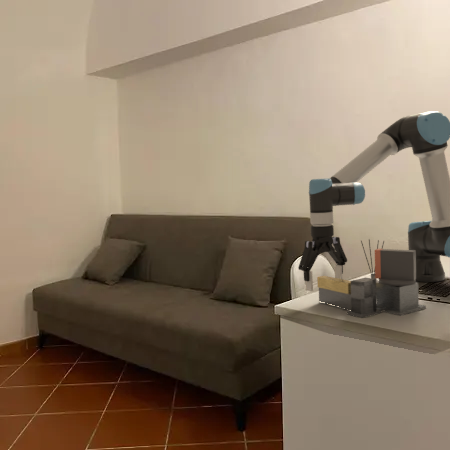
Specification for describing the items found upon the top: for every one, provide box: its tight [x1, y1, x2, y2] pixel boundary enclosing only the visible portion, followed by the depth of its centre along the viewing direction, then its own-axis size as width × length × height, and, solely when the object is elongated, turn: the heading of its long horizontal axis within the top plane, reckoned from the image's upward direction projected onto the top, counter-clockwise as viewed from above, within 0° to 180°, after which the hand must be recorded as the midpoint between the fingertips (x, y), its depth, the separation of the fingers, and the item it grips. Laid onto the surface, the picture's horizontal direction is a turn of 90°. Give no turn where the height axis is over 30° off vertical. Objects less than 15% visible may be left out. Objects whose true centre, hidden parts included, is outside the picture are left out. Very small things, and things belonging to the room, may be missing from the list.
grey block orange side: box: [374, 248, 417, 286], centre depth 158 cm, size 12×11×10 cm
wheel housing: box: [376, 281, 427, 316], centre depth 159 cm, size 12×12×8 cm
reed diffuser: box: [360, 238, 385, 283], centre depth 177 cm, size 10×7×20 cm
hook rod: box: [316, 275, 352, 294], centre depth 165 cm, size 3×14×4 cm, turn 33°
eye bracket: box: [318, 277, 383, 319], centre depth 162 cm, size 9×22×10 cm, turn 33°
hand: (324, 287), depth 170 cm, fingers open, 13 cm apart
